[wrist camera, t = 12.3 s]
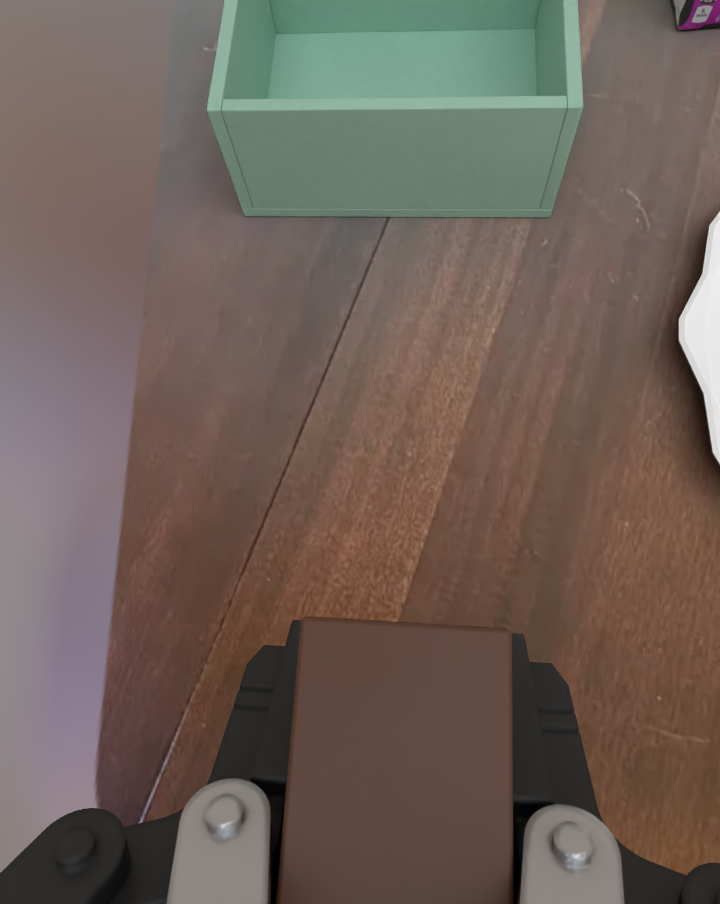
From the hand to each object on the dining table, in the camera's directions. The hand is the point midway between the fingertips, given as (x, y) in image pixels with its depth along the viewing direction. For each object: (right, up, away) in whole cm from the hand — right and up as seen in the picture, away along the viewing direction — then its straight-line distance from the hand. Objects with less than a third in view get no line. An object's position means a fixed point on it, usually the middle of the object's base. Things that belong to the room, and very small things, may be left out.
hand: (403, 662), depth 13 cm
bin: (+2, +27, +33) cm, 42 cm away
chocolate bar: (0, -4, +7) cm, 8 cm away
